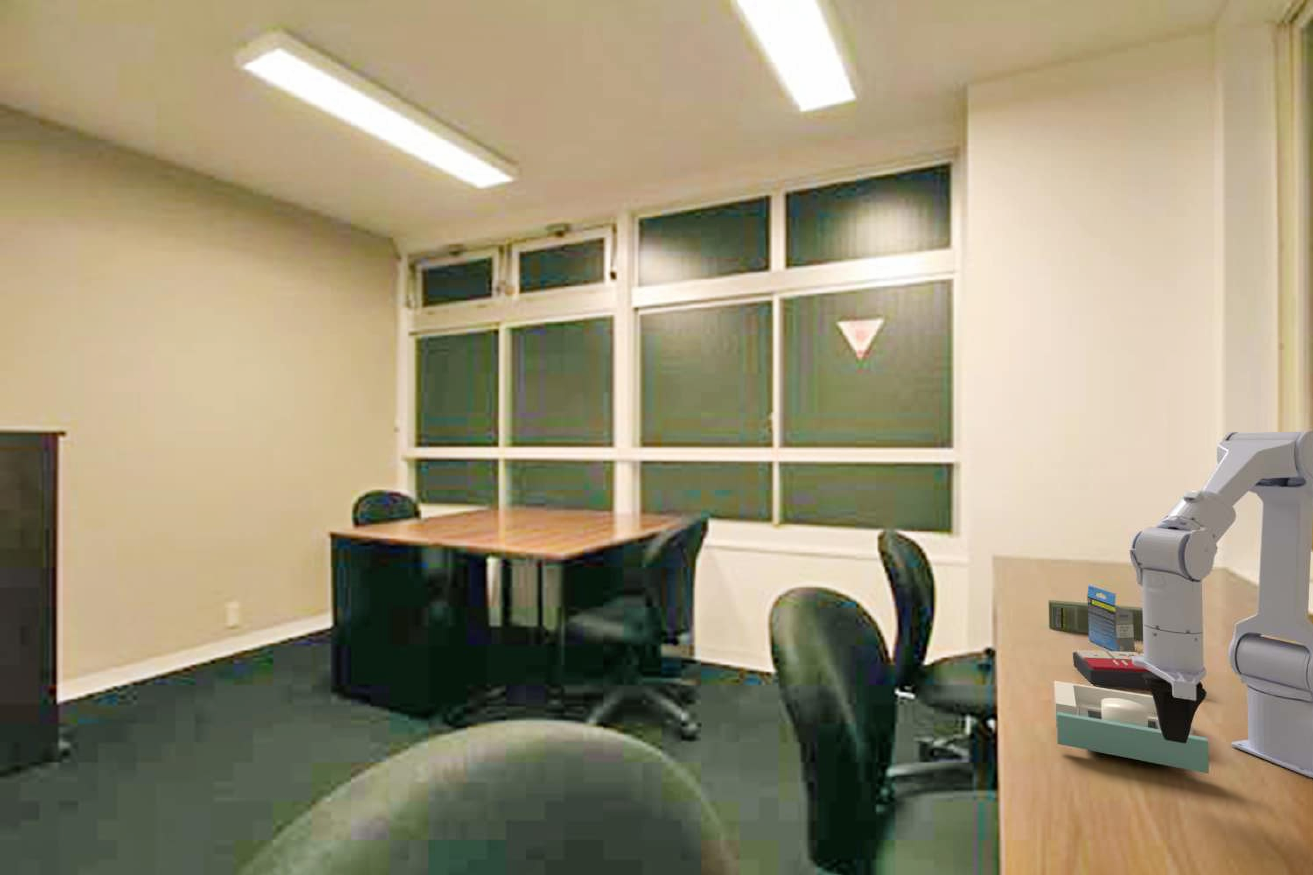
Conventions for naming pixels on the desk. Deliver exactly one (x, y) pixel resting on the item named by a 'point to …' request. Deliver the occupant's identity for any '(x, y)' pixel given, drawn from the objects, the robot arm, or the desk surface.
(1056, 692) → the dock
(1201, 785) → the desk surface
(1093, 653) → the calculator
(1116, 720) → the white dome-topped cylinder
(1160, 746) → the tray
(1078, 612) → the handheld radio
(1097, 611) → the label tape box
